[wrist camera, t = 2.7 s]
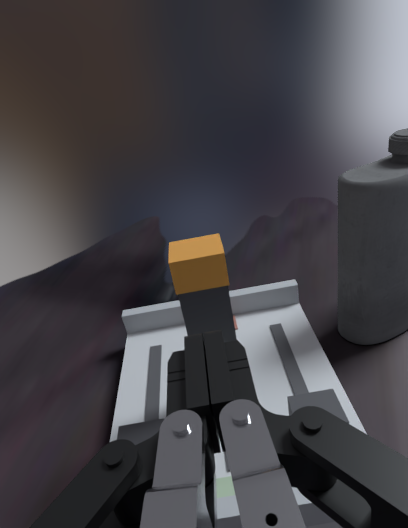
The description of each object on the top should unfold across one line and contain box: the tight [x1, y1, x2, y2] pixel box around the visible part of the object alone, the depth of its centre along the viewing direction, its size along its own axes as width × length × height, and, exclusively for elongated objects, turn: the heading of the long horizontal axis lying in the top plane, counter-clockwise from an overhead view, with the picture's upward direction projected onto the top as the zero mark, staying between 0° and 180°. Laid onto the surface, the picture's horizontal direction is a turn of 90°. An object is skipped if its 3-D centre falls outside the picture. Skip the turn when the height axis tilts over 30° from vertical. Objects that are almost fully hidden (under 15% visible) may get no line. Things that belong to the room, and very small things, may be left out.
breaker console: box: [110, 280, 366, 528], centre depth 34 cm, size 24×20×6 cm
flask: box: [338, 129, 408, 345], centre depth 39 cm, size 15×6×20 cm, turn 124°
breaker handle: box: [169, 234, 237, 342], centre depth 30 cm, size 3×4×14 cm
